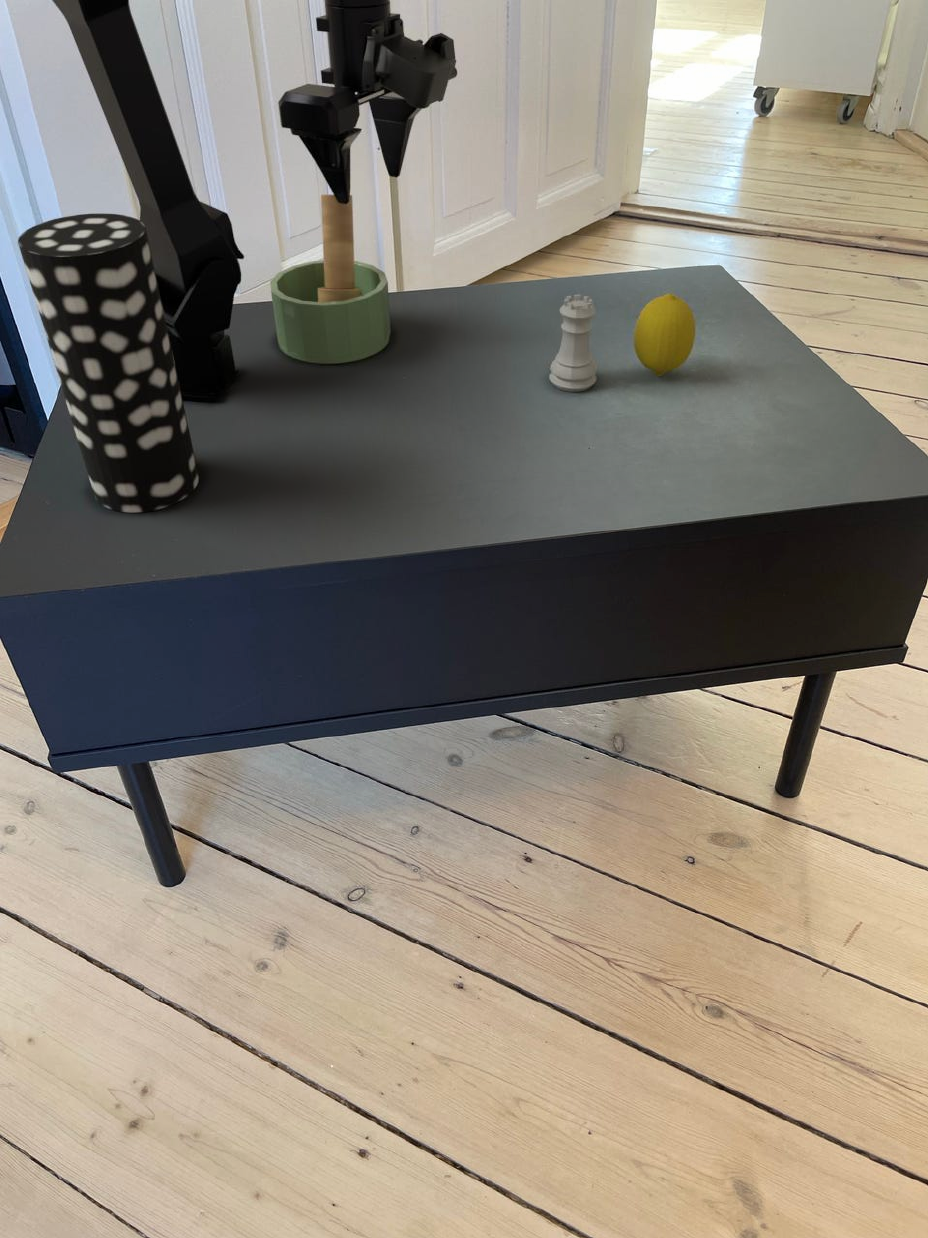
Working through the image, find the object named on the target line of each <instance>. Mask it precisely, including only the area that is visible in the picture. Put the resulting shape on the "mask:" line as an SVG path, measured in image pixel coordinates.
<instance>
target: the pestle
mask: <svg viewBox="0 0 928 1238" xmlns="http://www.w3.org/2000/svg"><path fill="white" fill-rule="evenodd" d="M353 204H354V203H353V195H352V194H350V201H349V203H348V204H342V203H339V202H338V201H337V199H336V198H335V196H334V194H320V206H321V209H320V210H321V211H320V212H321V230H322V231H321V232H322V234H321V235H322V252H323V253H322V257H323V260H324V283H325V287H321V288H318V302H336V301H345V300H349V299H353V298H357V297H360V296H362V288H358V287H355V268H354V261H355V239H354V209H353V208H354V207H353V206H354V205H353Z"/></svg>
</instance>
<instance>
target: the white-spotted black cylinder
mask: <svg viewBox="0 0 928 1238" xmlns="http://www.w3.org/2000/svg"><path fill="white" fill-rule="evenodd" d="M17 244H18V247H19V251H20V254H21V257H22V260H23V265H24V268H25V270H26V274H27V277H28V280H29V285H30V287H31V290H32V293H33V297H34V300H35V303H36V307H37V310H38V314H39V317H40V321H41V324H42V327H43V331H44V333H45V337H46V340H47V343H48V347H49V351H50V353H51V356H52V360H53V363H54V366H55V370H56V373H57V377H58V380H59V384H60V386H61V389H62V393H63V396H64V400H65V403H66V407H67V410H68V413H69V416H70V420H71V423H72V427H73V429H74V433H75V436H76V439H77V444H78V446H79V449H80V453H81V457H82V460H83V462H84V466H85V469H86V473H87V477H88V479H89V483H90V485H91V489H92V492H93V495H94V498H95V500H96V501H97V502H98V504H100V505H101V506H103V507H104V508H106V509H109V510H112V511H116V512H122V513H146V512H152V511H157V510H160V509H165V508H168V507H170V506H173V505H175V504H176V503H178V502H180V501H182V500H184V499H185V498H187V497H188V496H189V495H191V493H193V491H194V490H195V489H196V487H197V486H198V484H199V479H200V475H199V470H198V465H197V461H196V456H195V452H194V448H193V442H192V438H191V432H190V429H189V424H188V419H187V414H186V410H185V405H184V401H183V400H184V399H182V395H181V391H180V386H179V381H178V377H177V372H176V367H175V363H174V358H173V353H172V349H171V344H170V339H169V335H168V330H167V325H166V321H165V316H164V311H163V307H162V302H161V297H160V293H159V288H158V283H157V279H156V274H155V269H154V265H153V260H152V255H151V251H150V246H149V241H148V237H147V232H146V228H145V225H144V224H143V223H142V222H141V221H140V219H138V218H135V217H132V216H129V215H126V214H118V213H106V212H105V213H104V212H103V213H83V214H74V215H66V216H63V217H58V218H54V219H51V220H47V221H44V222H40V223H38V224H35V225H34V226H32V227H30V228H28V229H26V230H25V231H24V232H22V233H21V234H20V236H19V237H18V238H17Z"/></svg>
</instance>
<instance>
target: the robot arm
mask: <svg viewBox="0 0 928 1238" xmlns="http://www.w3.org/2000/svg"><path fill="white" fill-rule="evenodd" d="M51 1H52V2H53V3H54V5H55V6H56V7H57V9H58V10H59V11H60V12H61V14H62V16H63V17H64V19H65V21H66V22H67V24H68V27H69V30H70V32H71V35H72V37H73V40H74V41H75V44H76V47H77V50H78V51H79V54H80V57H81V60H82V62H83V65H84V67H85V70H86V72H87V74H88V77H89V79H90V83H91V85H92V87H93V89H94V92H95V94H96V97H97V100H98V102H99V105H100V107H101V110H102V113H103V115H104V117H105V119H106V123H107V124H108V127H109V130H110V133H111V134H112V138H113V140H114V142H115V144H116V147H117V150H118V152H119V154H120V155H119V156H120V157H121V160H122V162H123V165H124V167H125V170H126V173H127V175H128V177H129V180H130V182H131V185H132V187H133V189H134V192H135V194H136V197H137V200H138V203H139V209H140V210H139V221H141V222H142V223H143V224H144V225H145V228H146V232H147V237H148V241H149V246H150V251H151V255H152V260H153V265H154V269H155V274H156V279H157V283H158V288H159V293H160V297H161V302H162V307H163V311H164V316H165V321H166V325H167V330H168V335H169V339H170V344H171V349H172V353H173V358H174V363H175V367H176V372H177V377H178V381H179V386H180V391H181V395H182V400H191V401H200V402H201V401H202V402H214V401H217V400H218V398H219V397H220V396H221V395H222V394H223V392H224V391H225V390H226V389H227V387H228V386H229V385H230V383H231V382H232V381H233V380H234V379H235V377H236V376H237V375H239V372H240V368H239V366H237V365H236V363H235V359H234V352H233V346H232V341H231V336H230V334H228V333H225V331H226V330H228V329H229V328H231V327H230V326H231V321H232V313H233V308H234V307H233V306H234V300H235V294H236V292H237V289H238V287H239V285H240V284H241V282H242V270H241V266H240V262H239V260H243V259H245V255H244V254H243V253H242V251H241V250H240V249H239V247H238V245H237V242H236V240H235V235H234V230H233V229H234V228H233V224H232V221H231V219H230V216H229V214H228V213H227V212H225V211H223V210H220V209H219V208H217V207H214V206H212V205H209V204H207V203H205V202H204V201H201V200H199V197H198V196H197V195H196V193H195V189H194V187H193V183H192V181H191V178H190V176H189V173H188V170H187V167H186V164H185V161H184V159H183V156H182V152H181V150H180V147H179V145H178V142H177V138H176V136H175V133H174V131H173V128H172V124H171V122H170V119H169V116H168V114H167V111H166V108H165V105H164V102H163V100H162V97H161V93H160V90H159V88H158V85H157V83H156V80H155V77H154V74H153V71H152V68H151V66H150V65H151V64H150V62H149V60H148V56H147V54H146V52H145V48H144V46H143V42H142V40H141V37H140V33H139V31H138V29H137V26H136V22H135V20H134V18H133V15H132V12H131V6H130V0H51ZM323 2H324V12H325V13H324V15H321V16H317V17H315V21H316V23H315V24H316V32H321V33H322V32H323V33H326V35H327V47H328V48H327V49H328V59H329V67H327V68H325V69H321V70H320V77H321V84H327V85H321V84H313V83H306V84H303V85H300V86H298V87H295V88H292V89H290V90H286V91H285V92H284V93H283V95H282V96H281V97H280V99H279V100H278V102H277V106H278V114H279V120H280V126H281V128H282V129H289V130H290V133H291V135H293V136H296V137H297V136H298V138H299V139H300V141H301V142H302V144H303V145H304V147H305V148H306V149H307V151H308V152H309V154H310V155H311V158H312V159H313V161H314V162H315V164H316V165H317V167H318V169H319V171H320V172H321V174H322V176H323V178H324V180H325V182H326V183H327V185H328V187H329V189H330V191H331V192H332V195H334V196H335V198H336V199H337V201H338V202H339V203H342V204H348V203H349V201H350V195H351V147H352V144H353V143H354V141H355V140H356V139H357V137H358V136H359V135H360V134H361V133H362V128H359V127H357V124H358V121H359V118H360V115H361V114H360V113H361V112H360V106H362V105H365V104H367V103H368V105H369V108H370V109H369V110H370V113H371V116H372V119H373V124H374V127H375V131H376V135H377V139H378V143H379V148H380V150H381V155H382V158H383V162H384V164H385V168H386V171H387V175H388V176H389V177H392V178H398V177H400V176H401V173H402V168H403V163H404V160H405V155H406V151H407V147H408V143H409V138H410V134H411V131H412V127H413V124H414V120H415V118H416V116H417V115H418V114H419V113H420V112H421V111H422V110H424V109H427V108H429V107H430V105H432V104H433V103H436V102H439V103H440V102H442V101H443V100H444V98H445V95H446V91H447V87H448V84H449V81H451V80H453V79H455V78H457V76H458V70H457V68H456V65H457V59H456V51H455V50H456V49H455V42H454V39H453V38H451V37H450V36H448V35H446V34H445V33H443V32H440V33H436V34H434V35H431V36H430V37H429V38H428V39H427V41H426V42H425V43H424V41H423V40H422V39H417V40H413V39H411V38H409V37H408V36H405V35H406V34H405V29H404V27H405V26H404V20H403V18H401V13H395V12H394V13H393V12H391V11H392V10H391V0H323ZM328 85H333V86H328Z"/></svg>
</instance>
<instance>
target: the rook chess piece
mask: <svg viewBox="0 0 928 1238" xmlns="http://www.w3.org/2000/svg"><path fill="white" fill-rule="evenodd" d="M559 313H560V314H561V316H562V317H563V322H562V324H561V325H560V328H561V329H562V337H561V342H560V348H559V350H558V352H557V354H555V359H554V360H553V361H552V362H551V365H550V373H549V376H548V378H549V381H550V382H551V383H552V385H553V386H554V387H555V388H556V389H558V390H560V391H563V392H569V393H573V392H574V393H576V392H578V393H579V392H583V391H586V390H588V389H590V388H591V387H592V386H593V385H594V384H595V383H596V381H597V376H596V372H597V367H596V366H597V365H596V362H594V361H593V360H594V359H593V355H591V352H590V349H591V348H590V331H591V330H592V329H593V326H592V324H591V319H592V318H593V316H595V314H596V313H597V311H596V308H595V307H594V305H593V299H592V298H590V296H588V295H584V296H583V299H581V294H574V299H573V297H572V295H567V296H565V298H564V300H563V304H562V305H561V307H560V308H559Z"/></svg>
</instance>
